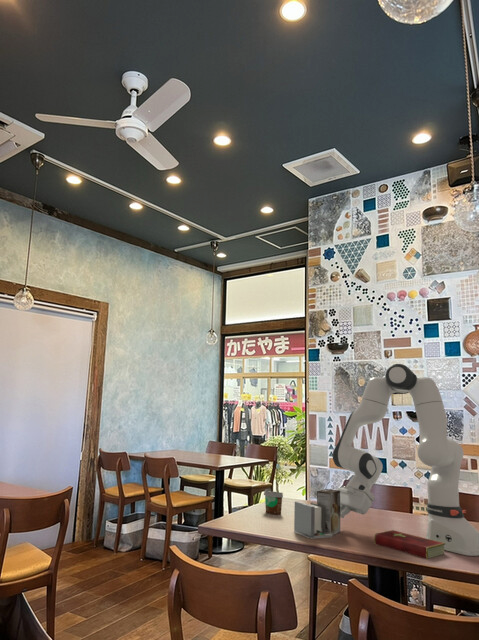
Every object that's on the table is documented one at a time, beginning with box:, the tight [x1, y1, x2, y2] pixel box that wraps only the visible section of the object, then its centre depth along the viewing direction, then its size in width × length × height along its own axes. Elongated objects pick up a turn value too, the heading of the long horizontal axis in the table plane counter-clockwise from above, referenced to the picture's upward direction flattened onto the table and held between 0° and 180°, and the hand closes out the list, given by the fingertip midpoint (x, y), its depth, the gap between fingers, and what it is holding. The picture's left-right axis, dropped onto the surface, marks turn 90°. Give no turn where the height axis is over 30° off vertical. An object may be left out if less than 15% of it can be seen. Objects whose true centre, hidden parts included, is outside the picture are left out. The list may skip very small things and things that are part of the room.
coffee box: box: [316, 488, 341, 536], centre depth 184 cm, size 9×6×16 cm
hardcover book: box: [374, 529, 445, 560], centre depth 164 cm, size 12×21×4 cm, turn 38°
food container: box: [263, 488, 284, 516], centre depth 216 cm, size 12×6×10 cm, turn 25°
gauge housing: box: [293, 501, 334, 540], centre depth 179 cm, size 11×10×12 cm
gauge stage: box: [310, 502, 325, 533], centre depth 179 cm, size 9×5×10 cm, turn 28°
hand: (339, 516), depth 186 cm, fingers closed
